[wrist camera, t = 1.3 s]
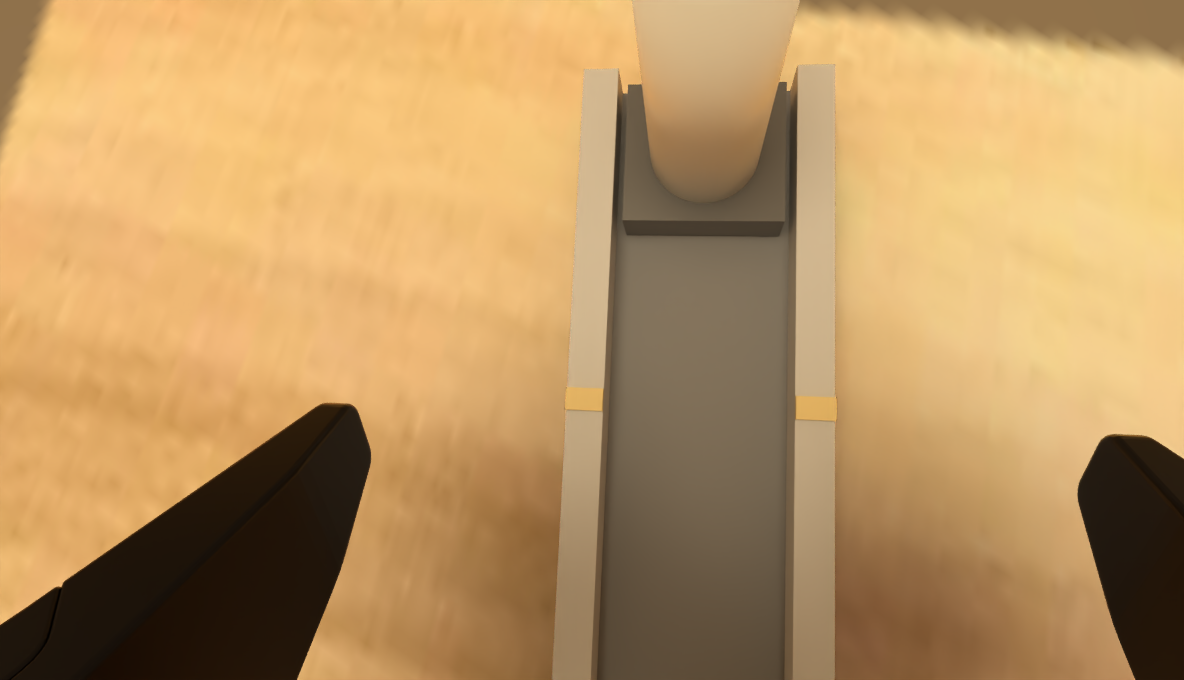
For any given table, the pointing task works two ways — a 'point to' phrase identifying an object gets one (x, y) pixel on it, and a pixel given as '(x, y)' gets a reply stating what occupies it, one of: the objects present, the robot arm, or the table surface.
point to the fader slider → (708, 118)
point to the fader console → (700, 425)
